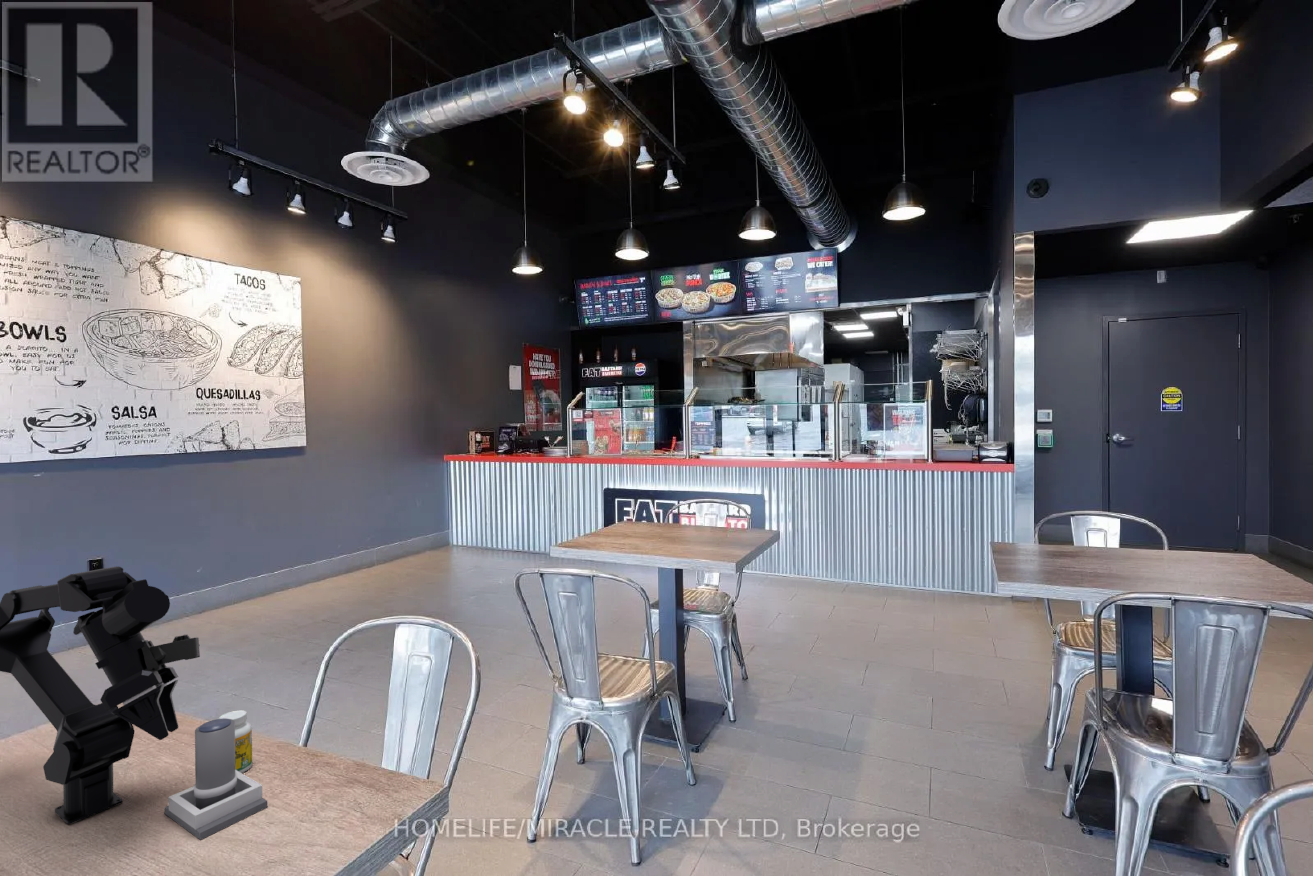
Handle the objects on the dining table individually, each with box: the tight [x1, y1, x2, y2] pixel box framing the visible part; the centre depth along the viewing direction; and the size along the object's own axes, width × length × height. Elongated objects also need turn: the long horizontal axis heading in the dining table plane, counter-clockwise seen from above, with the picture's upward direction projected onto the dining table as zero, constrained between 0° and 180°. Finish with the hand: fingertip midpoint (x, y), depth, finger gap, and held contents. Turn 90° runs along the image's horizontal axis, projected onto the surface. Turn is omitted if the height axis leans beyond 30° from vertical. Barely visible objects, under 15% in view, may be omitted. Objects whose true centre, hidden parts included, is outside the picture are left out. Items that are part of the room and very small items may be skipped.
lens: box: [193, 718, 237, 810], centre depth 94 cm, size 5×5×12 cm
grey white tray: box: [164, 770, 268, 841], centre depth 94 cm, size 12×9×3 cm
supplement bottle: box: [218, 709, 253, 774], centre depth 106 cm, size 5×5×10 cm
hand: (169, 734), depth 93 cm, fingers open, 9 cm apart
